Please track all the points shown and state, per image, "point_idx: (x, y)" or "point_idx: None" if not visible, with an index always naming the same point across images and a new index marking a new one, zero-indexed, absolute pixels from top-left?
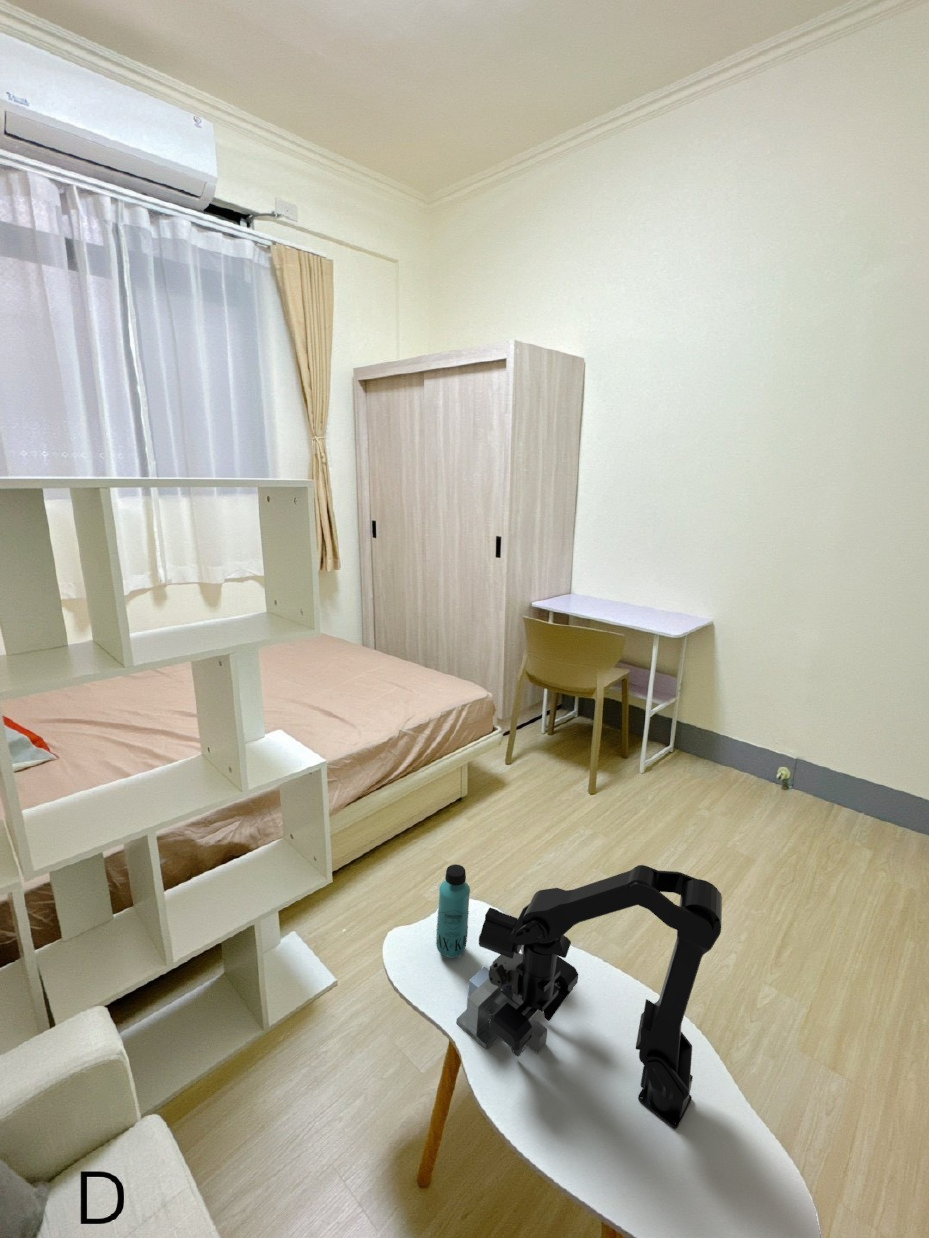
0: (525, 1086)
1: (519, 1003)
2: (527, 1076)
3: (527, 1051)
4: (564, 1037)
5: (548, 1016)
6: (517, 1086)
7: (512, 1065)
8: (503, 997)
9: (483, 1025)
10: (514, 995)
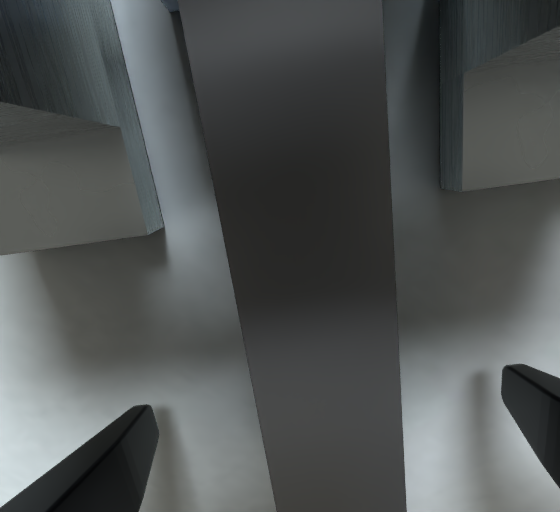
0: None
1: (472, 153)
2: (155, 478)
3: (249, 400)
4: (481, 463)
5: (529, 423)
6: None
7: (122, 403)
8: (337, 44)
9: (7, 137)
10: (507, 63)
